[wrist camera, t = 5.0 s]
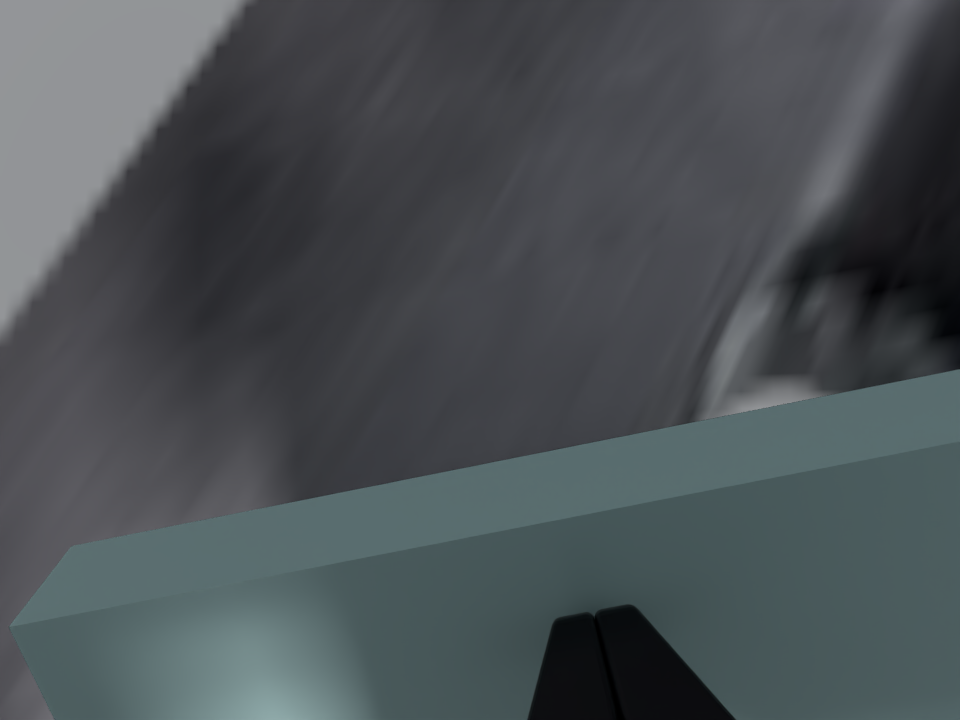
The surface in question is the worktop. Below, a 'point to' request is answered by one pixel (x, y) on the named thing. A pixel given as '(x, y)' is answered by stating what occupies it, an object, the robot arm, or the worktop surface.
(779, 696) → the panel
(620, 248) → the worktop surface
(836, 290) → the worktop surface
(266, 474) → the worktop surface
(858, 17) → the worktop surface
